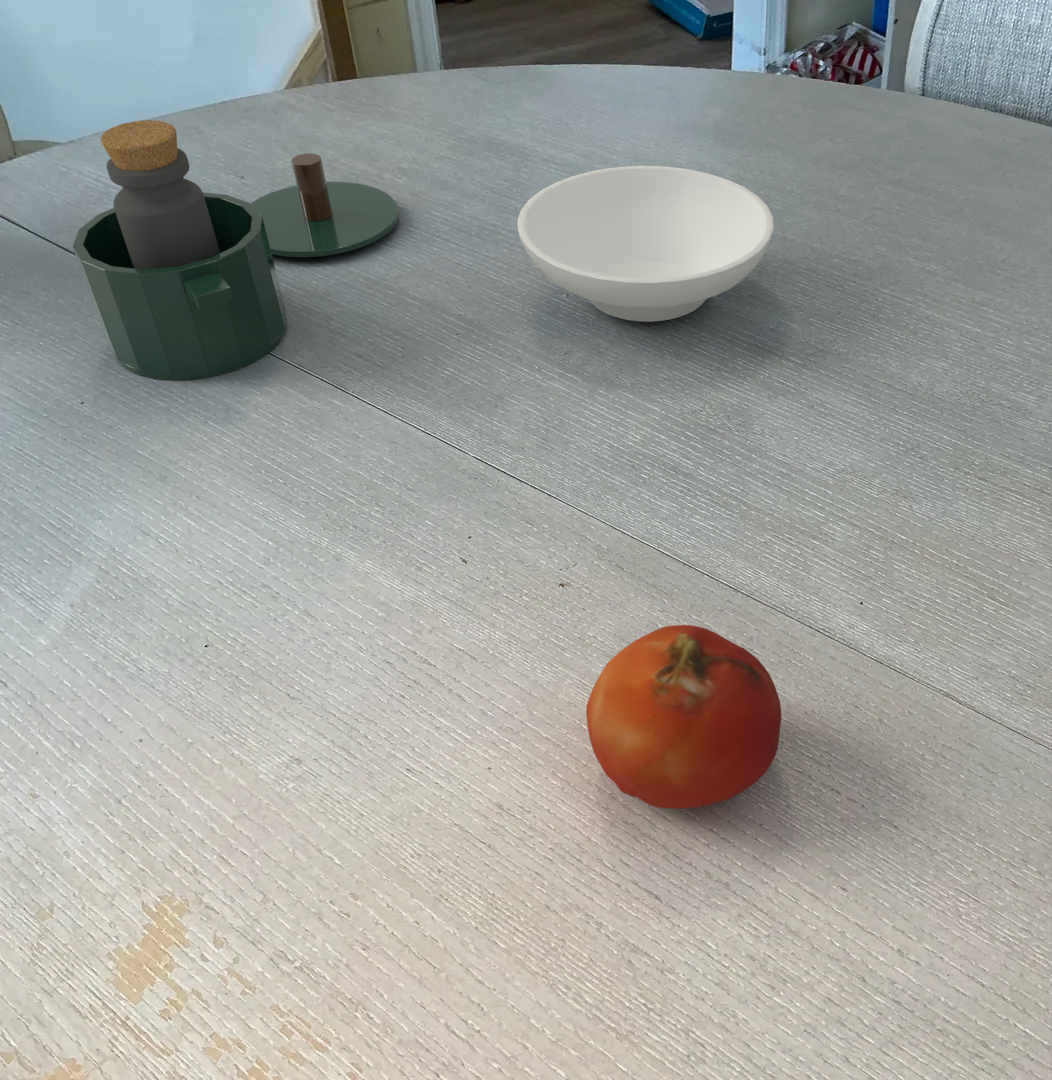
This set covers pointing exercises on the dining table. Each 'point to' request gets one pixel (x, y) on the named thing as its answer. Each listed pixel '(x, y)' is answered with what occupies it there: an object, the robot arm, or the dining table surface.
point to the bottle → (157, 197)
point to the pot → (187, 297)
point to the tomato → (684, 718)
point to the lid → (323, 213)
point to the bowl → (645, 238)
